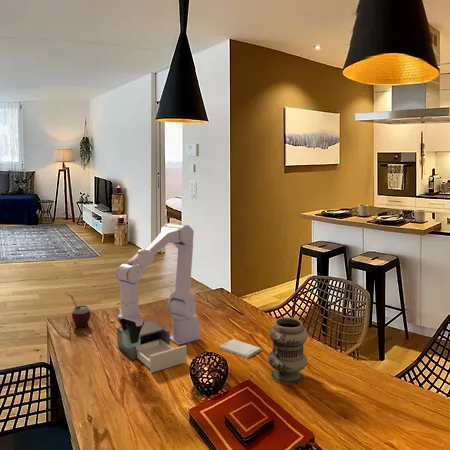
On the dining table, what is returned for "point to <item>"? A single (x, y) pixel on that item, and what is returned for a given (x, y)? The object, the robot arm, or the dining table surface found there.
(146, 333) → the housing
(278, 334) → the apothecary jar
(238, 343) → the hard drive
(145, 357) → the tray
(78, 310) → the mate gourd
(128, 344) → the teal block
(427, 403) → the dining table surface
